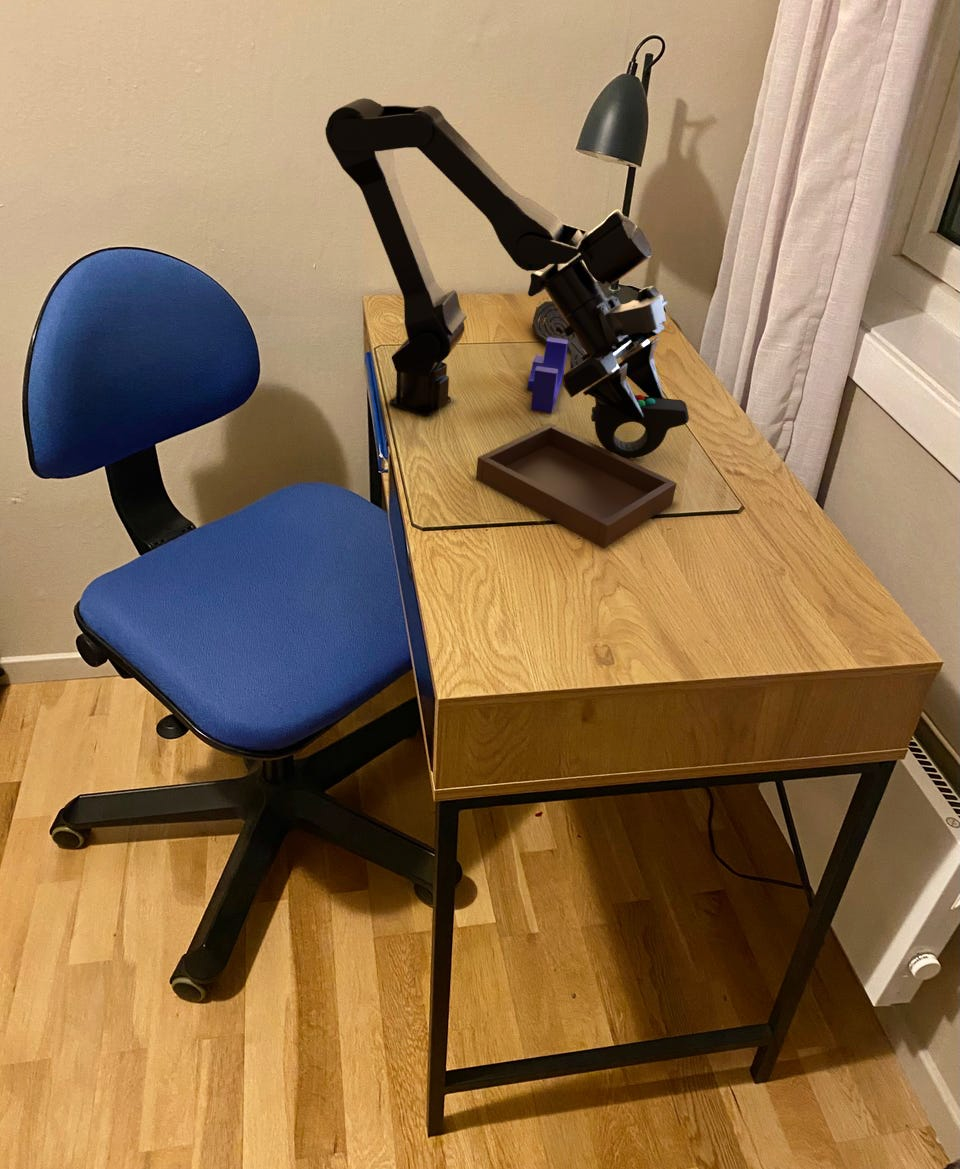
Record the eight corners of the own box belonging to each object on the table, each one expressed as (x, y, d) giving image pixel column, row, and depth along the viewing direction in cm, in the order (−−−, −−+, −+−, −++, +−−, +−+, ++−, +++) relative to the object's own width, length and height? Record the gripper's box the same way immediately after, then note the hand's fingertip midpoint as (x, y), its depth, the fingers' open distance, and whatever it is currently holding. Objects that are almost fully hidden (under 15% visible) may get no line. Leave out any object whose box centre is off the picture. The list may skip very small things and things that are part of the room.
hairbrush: (562, 367, 140) (528, 295, 159) (558, 389, 142) (525, 316, 161) (616, 367, 141) (576, 296, 160) (612, 389, 144) (573, 316, 162)
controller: (585, 443, 128) (596, 374, 122) (676, 451, 128) (692, 382, 122) (586, 459, 125) (597, 388, 118) (680, 467, 125) (696, 397, 119)
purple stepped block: (533, 373, 144) (537, 335, 141) (563, 377, 144) (568, 339, 140) (520, 408, 135) (524, 368, 131) (551, 413, 134) (556, 373, 131)
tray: (475, 479, 119) (477, 457, 117) (547, 443, 127) (549, 422, 125) (603, 548, 109) (607, 526, 107) (672, 504, 117) (677, 482, 115)
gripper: (598, 292, 107) (673, 408, 109) (662, 250, 120) (727, 356, 122) (530, 341, 115) (602, 449, 117) (597, 297, 128) (660, 395, 130)
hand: (650, 410), depth 121 cm, fingers closed on controller, 6 cm apart
